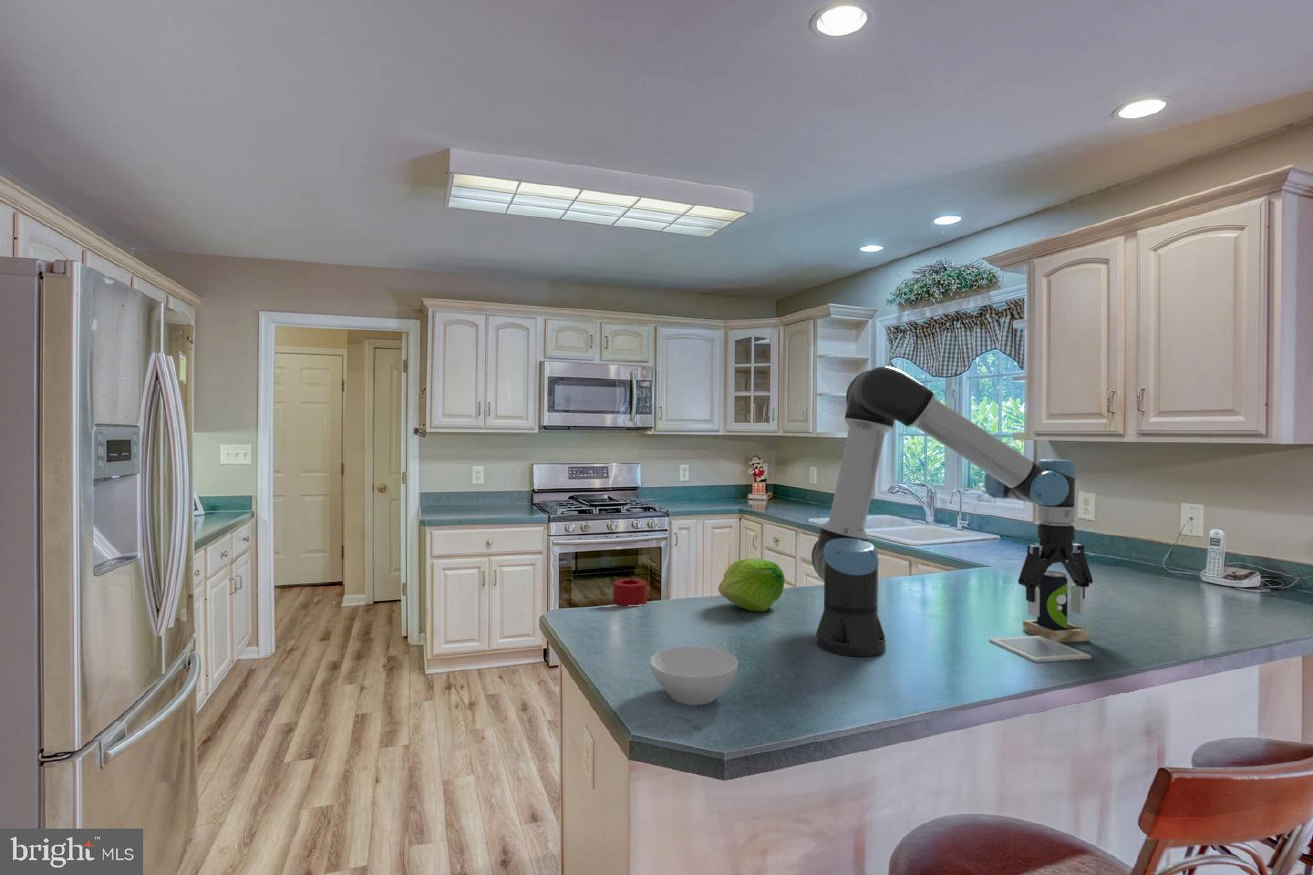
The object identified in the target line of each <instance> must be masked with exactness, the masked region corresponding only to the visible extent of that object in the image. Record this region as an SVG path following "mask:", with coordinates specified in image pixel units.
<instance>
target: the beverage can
mask: <svg viewBox="0 0 1313 875" xmlns="http://www.w3.org/2000/svg"><path fill="white" fill-rule="evenodd" d="M1036 588H1037V589H1040V601H1039V617H1036V620H1037V624H1038V625H1040V626H1043V627H1046V628H1048V629H1051V630H1054V631H1058V630H1067V623H1068V578H1067V574H1066V573H1064V572H1061V571H1055V570H1054V571H1053V570H1046V572H1045V574H1044V575H1043V577H1042V579H1041V581H1040V582H1039V584H1038V586H1037V587H1036Z"/></svg>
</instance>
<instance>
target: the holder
mask: <svg viewBox="0 0 1313 875" xmlns="http://www.w3.org/2000/svg"><path fill="white" fill-rule="evenodd" d="M1022 631H1023V632H1025V631H1026V633H1028V634H1031V635H1032V636H1040V635H1041V636H1043V637H1046V638H1048V639H1051V640H1053V641H1056V642H1058V643H1061V644H1063V643H1074V642H1076V643H1077V642H1089V641H1090V630H1089V629H1087V628H1084V627H1082V626H1078V625H1076V624H1072V623H1071V622H1070V623H1069V622H1067V630H1058V631H1054V630H1051V629H1048V628H1046V627H1043V626H1040V625H1038V624H1037V619H1028V620H1027V619H1025V620H1022Z"/></svg>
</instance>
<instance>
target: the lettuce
mask: <svg viewBox="0 0 1313 875" xmlns="http://www.w3.org/2000/svg"><path fill="white" fill-rule="evenodd" d="M784 587H785V573H784V571H783V570H782V569H781V567H780V566H779V565H778V564H777V563H775V562H773V561H771V560H765V559H761V558H746V559H741V560H740V559H739V560H736V561H734V562H733V563H732V564H730V565H729V566H728V568H727V569H726V571H725V573H724V575H723V579H722V580H721V581H720V583H719V585H718V590H717V591H718V593H719V595H721V597H723V598H726V599H727V600H728V601H730V602H731V603H733V604H734V605H735V606H737V607H739V608H741V609H744V610H747V611H751V612H755V613H763V612H766V611H767V610H769V609H770V608H771V607H772V606H773V605H774V603H775V602H776V601H778V600H779V599H780V598H781V596H782V593H783V591H784Z"/></svg>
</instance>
